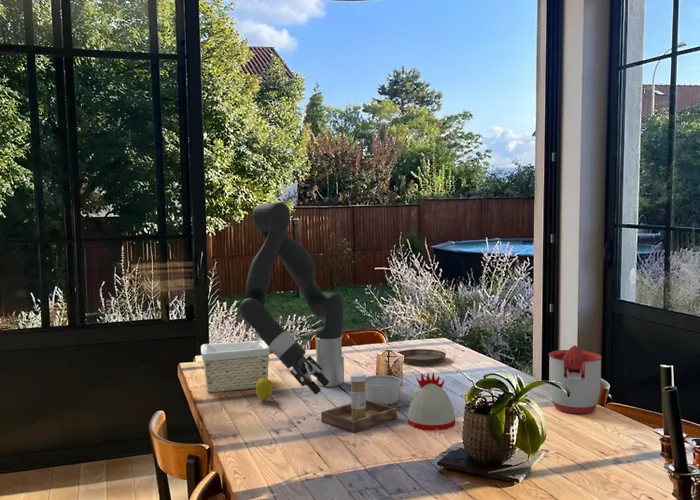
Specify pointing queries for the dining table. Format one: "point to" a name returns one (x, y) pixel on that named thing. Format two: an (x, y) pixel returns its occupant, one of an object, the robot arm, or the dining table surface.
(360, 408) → the sprinkles bottle
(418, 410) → the kitchen timer
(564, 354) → the citrus juicer
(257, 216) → the robot arm
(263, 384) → the lemon
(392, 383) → the ramekin
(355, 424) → the serving box
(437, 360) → the plant saucer
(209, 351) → the storage basket
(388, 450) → the dining table surface
